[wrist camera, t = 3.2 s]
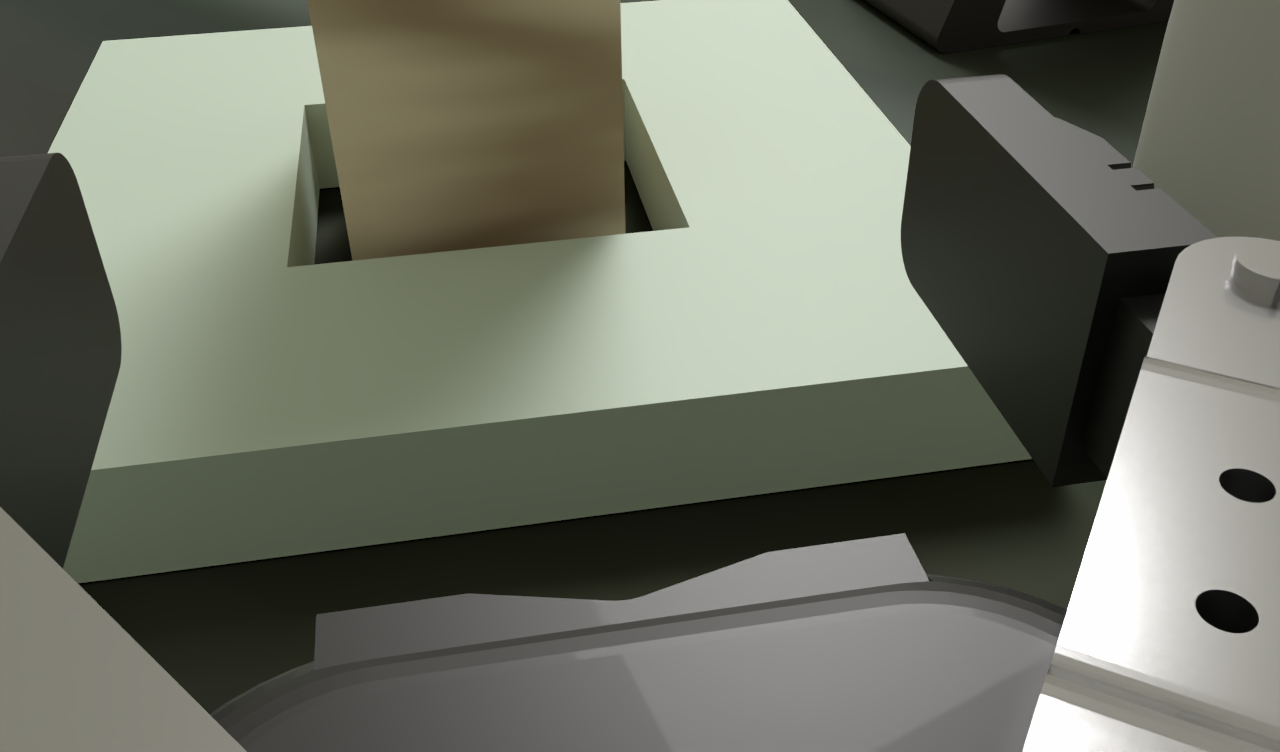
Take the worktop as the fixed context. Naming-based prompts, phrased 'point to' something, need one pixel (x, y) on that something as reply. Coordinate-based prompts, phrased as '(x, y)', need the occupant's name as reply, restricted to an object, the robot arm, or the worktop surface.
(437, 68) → the birch block
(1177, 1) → the lumpy-topped squat cylinder
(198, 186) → the pocket frame
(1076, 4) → the phone stand
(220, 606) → the worktop surface
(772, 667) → the robot arm
